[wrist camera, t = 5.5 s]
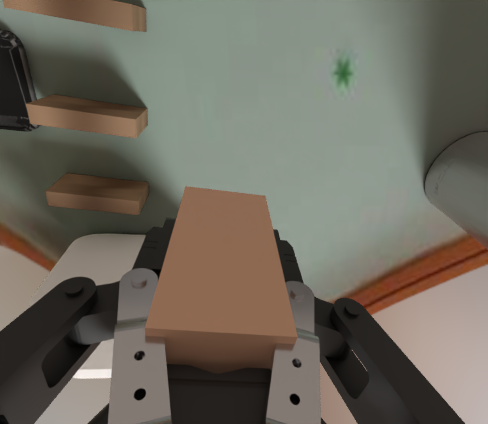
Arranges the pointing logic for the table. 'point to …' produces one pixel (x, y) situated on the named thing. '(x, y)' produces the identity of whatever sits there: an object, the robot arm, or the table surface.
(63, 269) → the cable organizer
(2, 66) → the phone
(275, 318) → the plug block
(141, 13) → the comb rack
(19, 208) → the table surface
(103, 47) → the table surface
